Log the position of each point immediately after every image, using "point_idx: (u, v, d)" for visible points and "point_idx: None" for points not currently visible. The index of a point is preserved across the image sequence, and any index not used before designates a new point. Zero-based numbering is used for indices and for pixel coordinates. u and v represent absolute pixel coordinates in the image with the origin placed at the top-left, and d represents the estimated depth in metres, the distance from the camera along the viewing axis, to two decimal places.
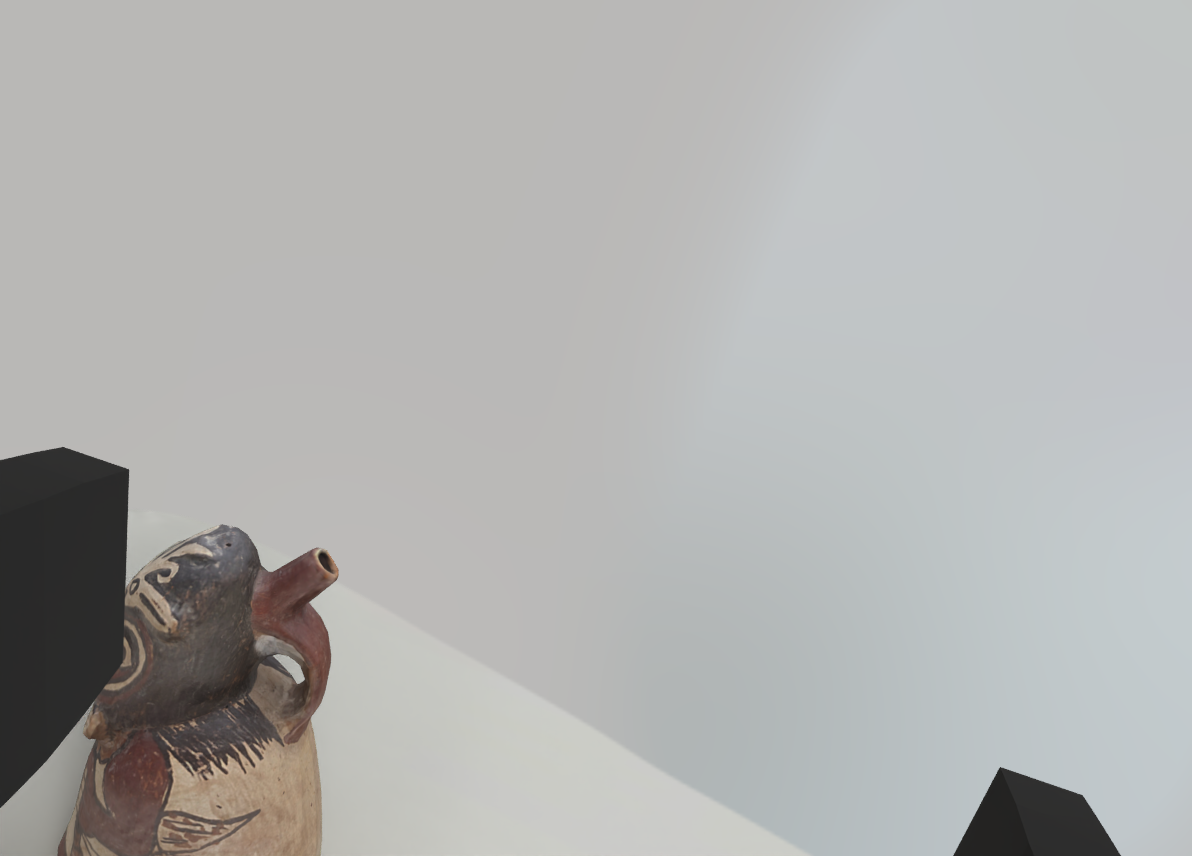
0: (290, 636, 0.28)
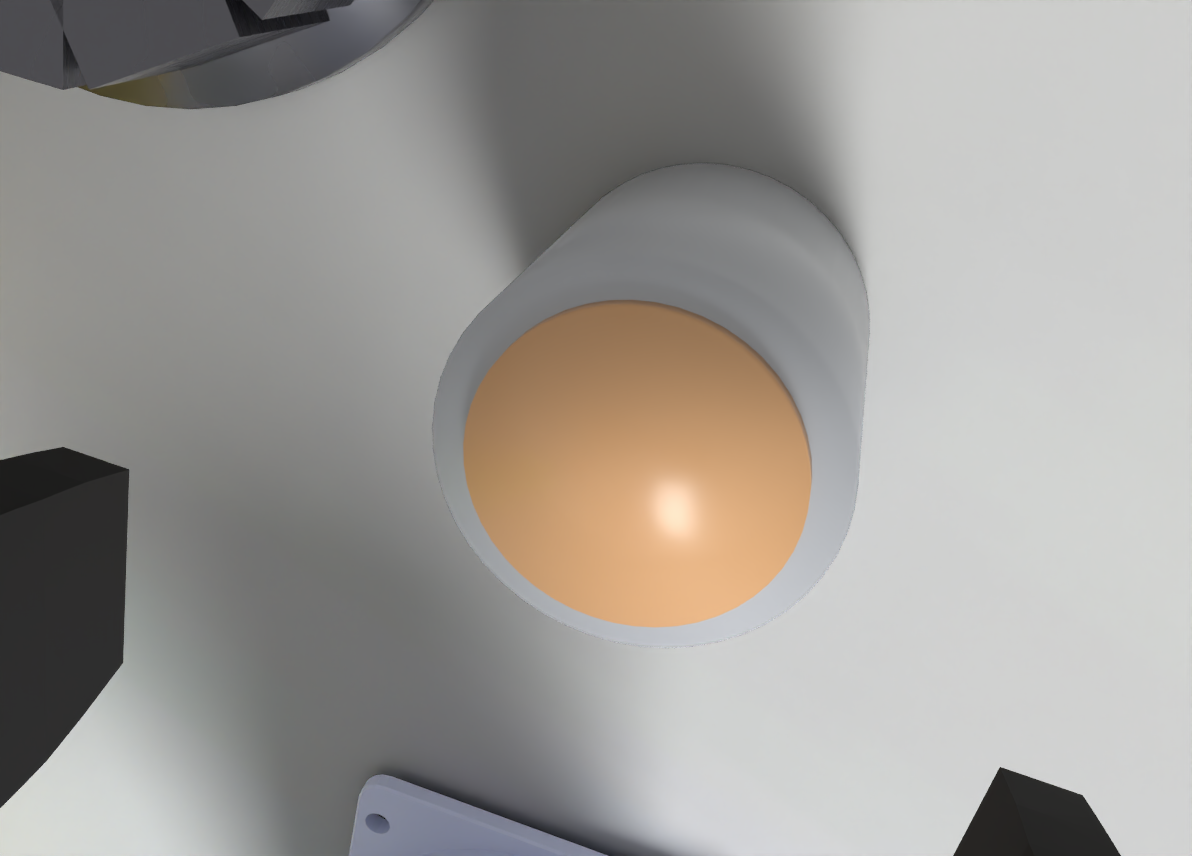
0: None
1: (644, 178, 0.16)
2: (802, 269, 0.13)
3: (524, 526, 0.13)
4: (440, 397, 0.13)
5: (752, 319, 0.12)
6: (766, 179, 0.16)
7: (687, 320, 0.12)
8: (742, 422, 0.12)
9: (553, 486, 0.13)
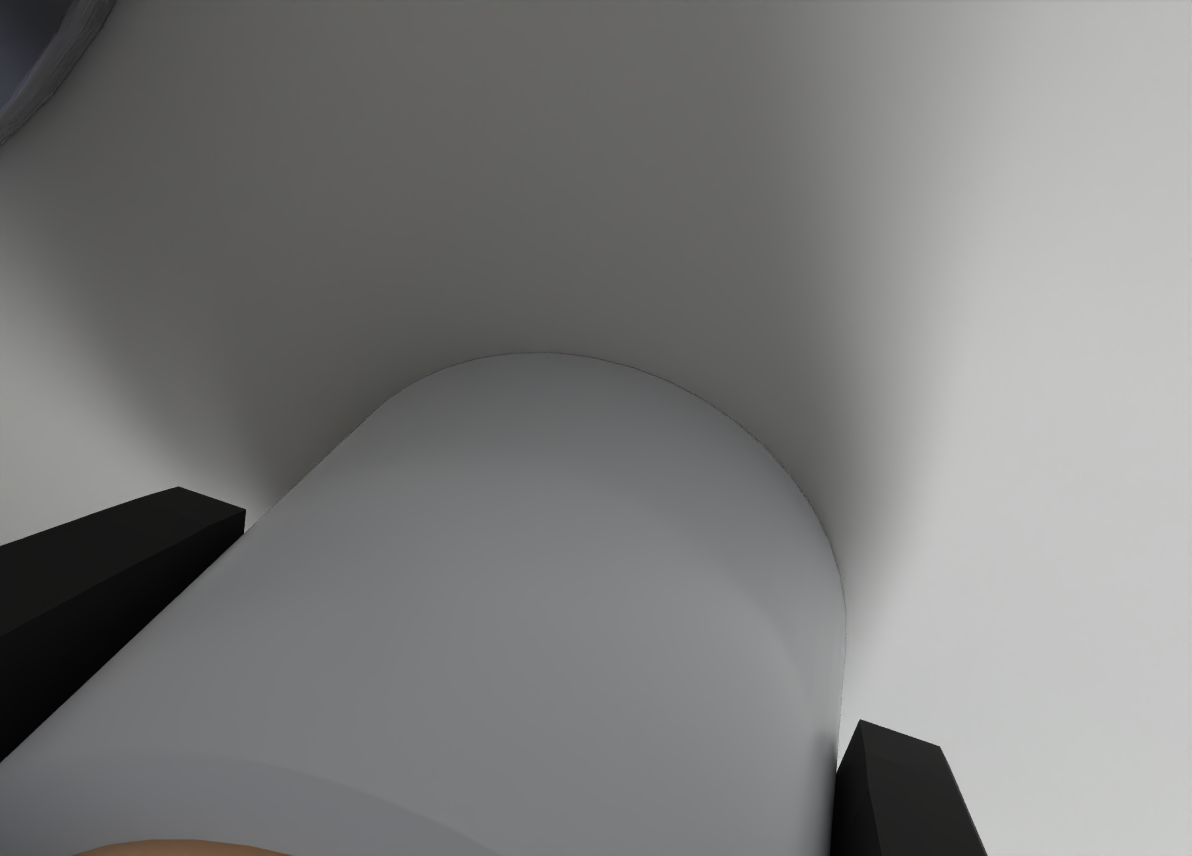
0: None
1: (440, 386, 0.09)
2: (692, 661, 0.06)
3: None
4: None
5: None
6: (658, 391, 0.09)
7: None
8: None
9: None
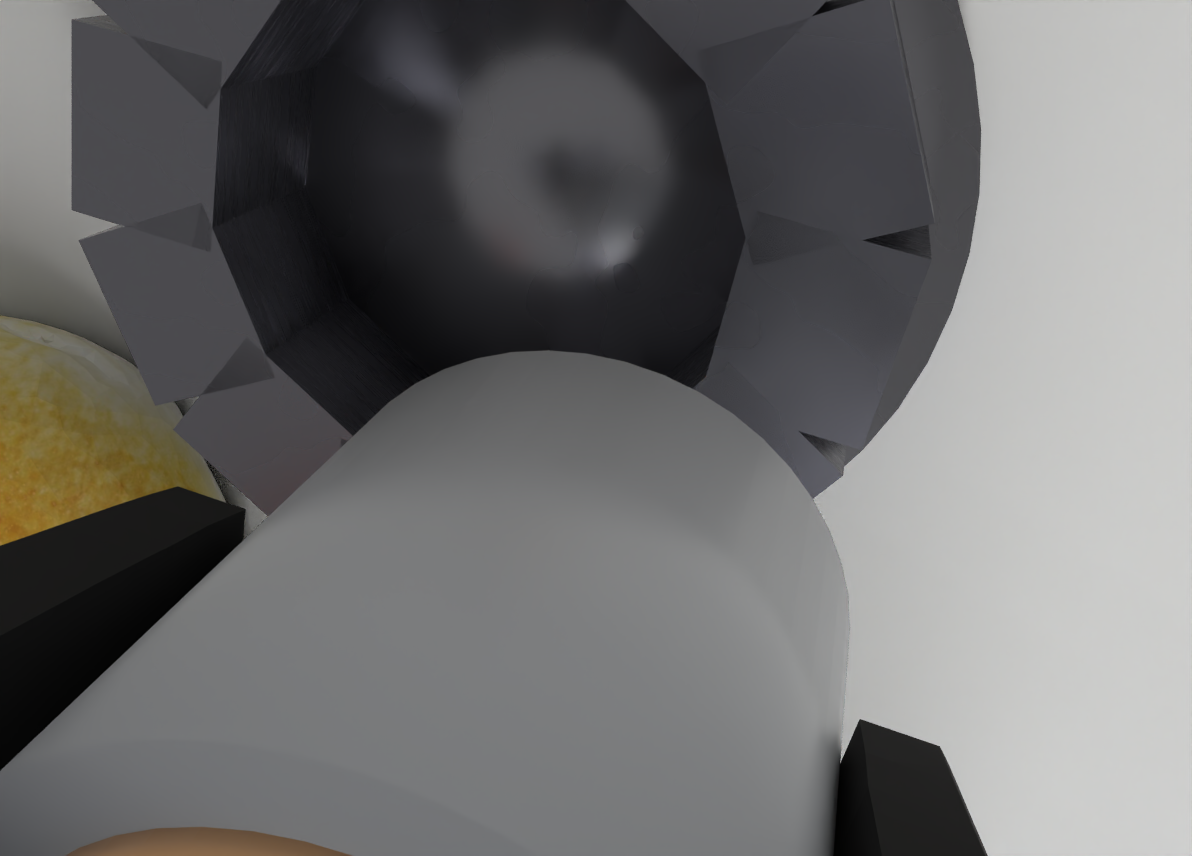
0: None
1: (438, 387, 0.09)
2: (687, 644, 0.06)
3: None
4: None
5: None
6: (653, 384, 0.09)
7: None
8: None
9: None
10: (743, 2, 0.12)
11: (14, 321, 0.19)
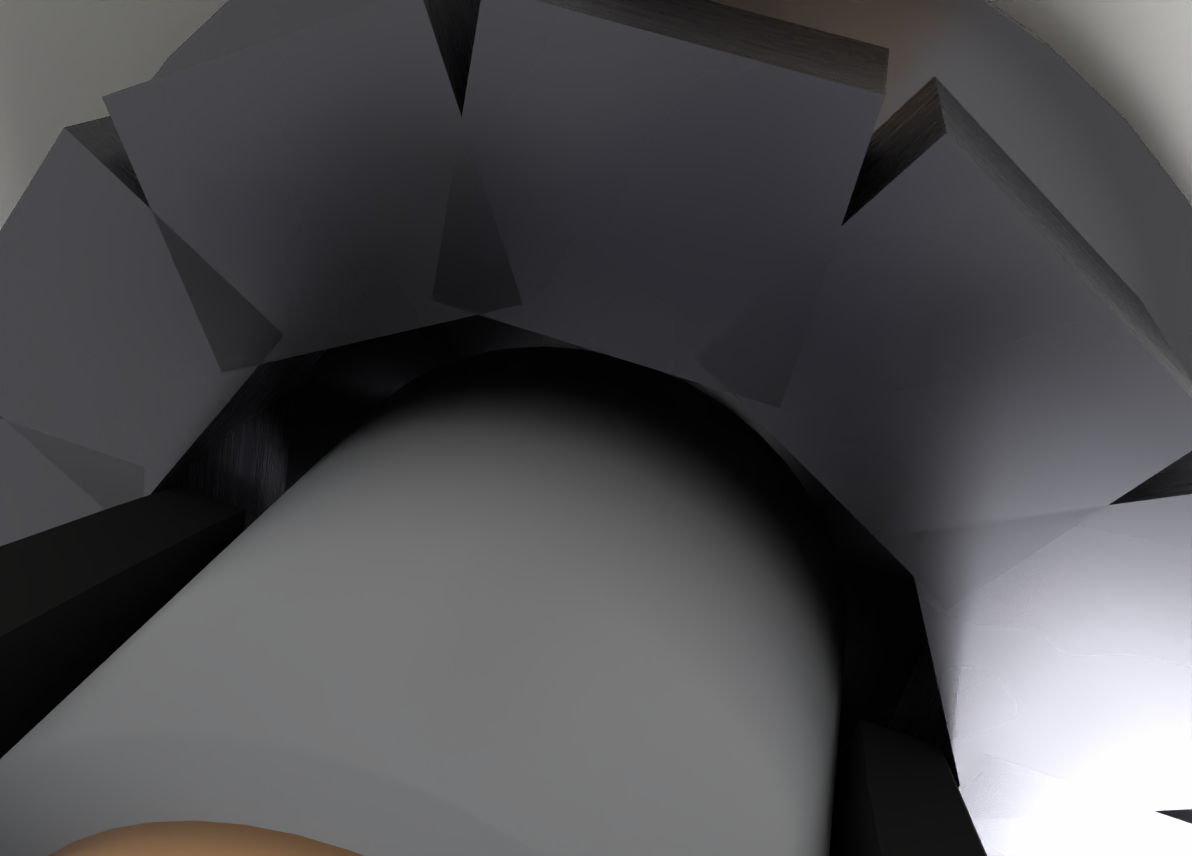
0: None
1: (434, 383, 0.09)
2: (682, 638, 0.06)
3: None
4: None
5: None
6: (649, 380, 0.09)
7: None
8: None
9: None
10: (989, 474, 0.07)
11: None
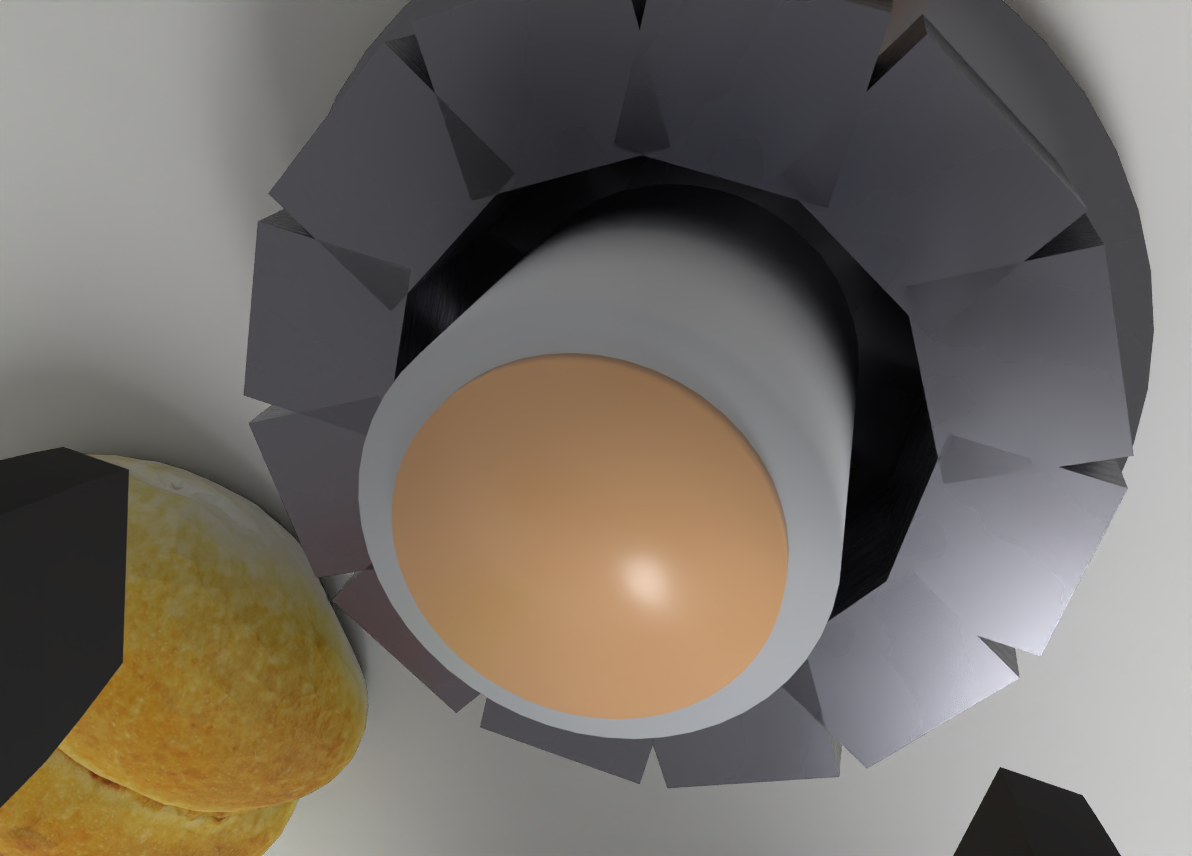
0: None
1: (600, 204, 0.14)
2: (772, 304, 0.12)
3: (466, 610, 0.12)
4: (364, 468, 0.12)
5: (709, 371, 0.10)
6: (735, 199, 0.14)
7: (633, 376, 0.10)
8: (703, 490, 0.10)
9: (495, 565, 0.11)
10: (953, 244, 0.12)
11: (142, 465, 0.19)
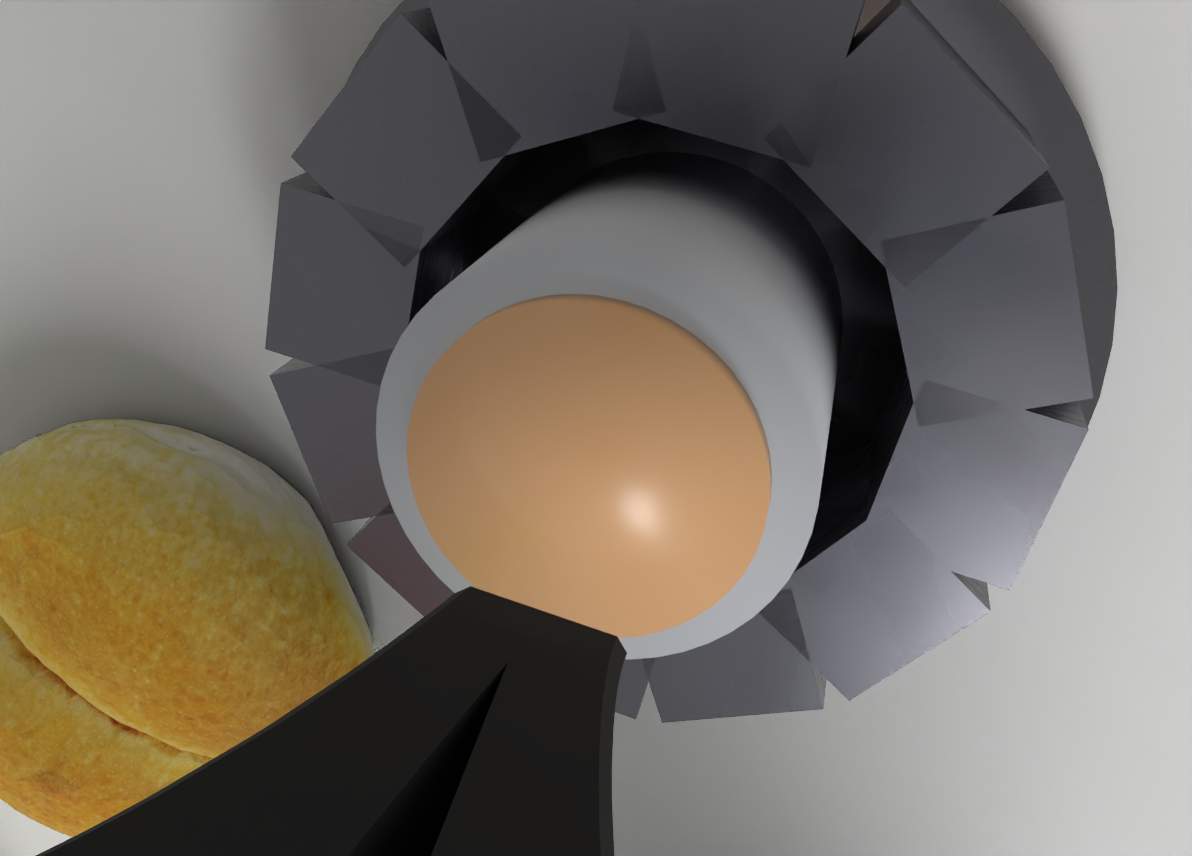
0: None
1: (600, 170, 0.15)
2: (759, 255, 0.13)
3: (475, 537, 0.13)
4: (382, 404, 0.13)
5: (699, 309, 0.11)
6: (727, 166, 0.15)
7: (630, 313, 0.11)
8: (694, 419, 0.11)
9: (502, 493, 0.12)
10: (926, 201, 0.13)
11: (160, 428, 0.20)
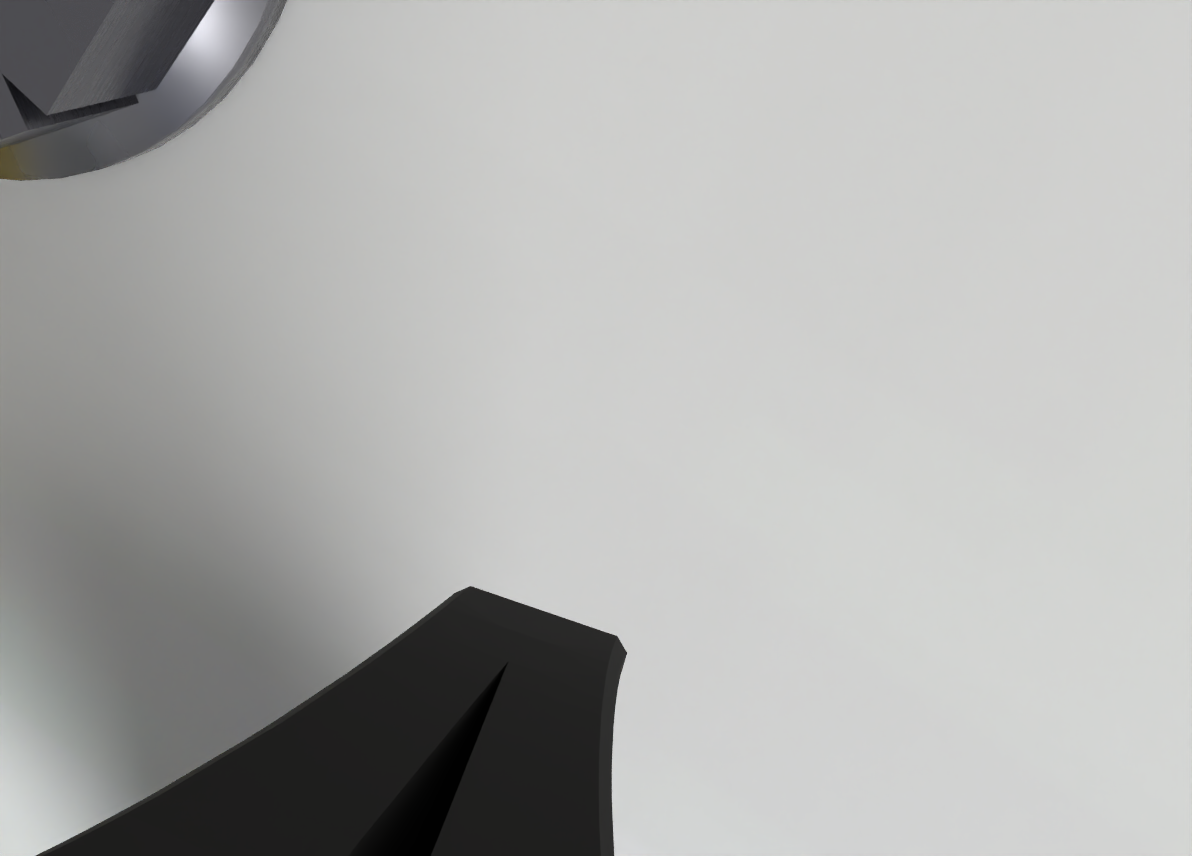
0: None
1: None
2: None
3: None
4: None
5: None
6: None
7: None
8: None
9: None
10: None
11: None
